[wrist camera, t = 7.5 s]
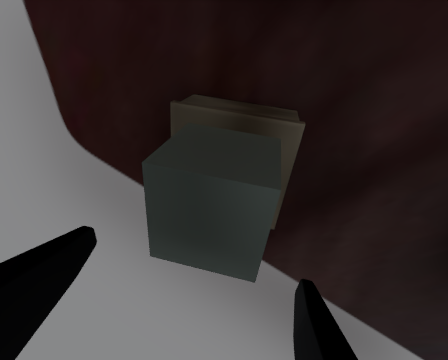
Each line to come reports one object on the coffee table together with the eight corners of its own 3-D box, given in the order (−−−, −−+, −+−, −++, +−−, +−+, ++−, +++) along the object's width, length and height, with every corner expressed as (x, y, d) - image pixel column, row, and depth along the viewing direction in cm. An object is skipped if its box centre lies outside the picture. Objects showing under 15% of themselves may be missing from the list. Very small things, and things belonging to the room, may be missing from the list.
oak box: (300, 108, 17) (305, 124, 14) (275, 200, 21) (274, 229, 18) (190, 91, 18) (170, 102, 15) (188, 182, 22) (171, 206, 19)
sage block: (280, 138, 14) (281, 190, 9) (262, 213, 17) (255, 282, 12) (188, 122, 15) (141, 162, 10) (186, 197, 18) (150, 256, 13)
